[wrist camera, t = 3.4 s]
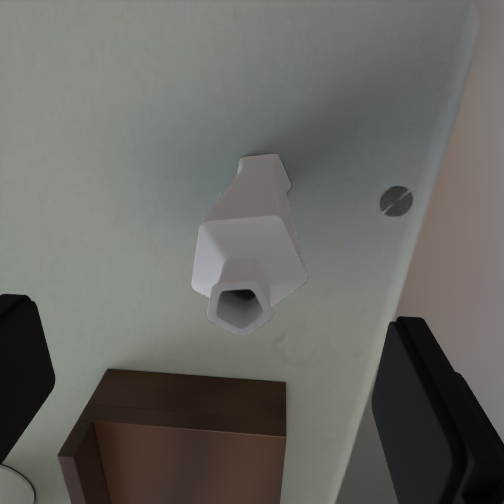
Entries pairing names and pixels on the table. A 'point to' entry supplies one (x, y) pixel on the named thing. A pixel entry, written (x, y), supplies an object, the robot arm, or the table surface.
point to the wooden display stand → (177, 441)
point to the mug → (14, 488)
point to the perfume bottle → (249, 248)
